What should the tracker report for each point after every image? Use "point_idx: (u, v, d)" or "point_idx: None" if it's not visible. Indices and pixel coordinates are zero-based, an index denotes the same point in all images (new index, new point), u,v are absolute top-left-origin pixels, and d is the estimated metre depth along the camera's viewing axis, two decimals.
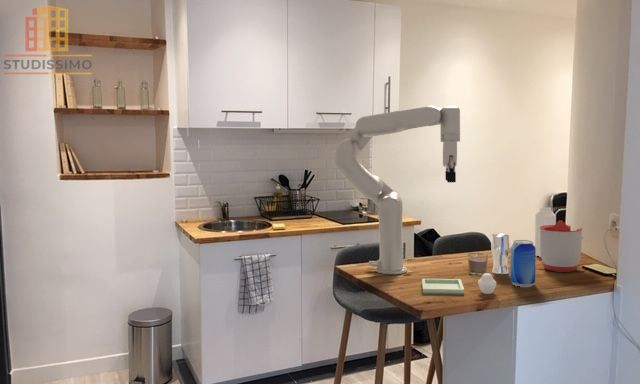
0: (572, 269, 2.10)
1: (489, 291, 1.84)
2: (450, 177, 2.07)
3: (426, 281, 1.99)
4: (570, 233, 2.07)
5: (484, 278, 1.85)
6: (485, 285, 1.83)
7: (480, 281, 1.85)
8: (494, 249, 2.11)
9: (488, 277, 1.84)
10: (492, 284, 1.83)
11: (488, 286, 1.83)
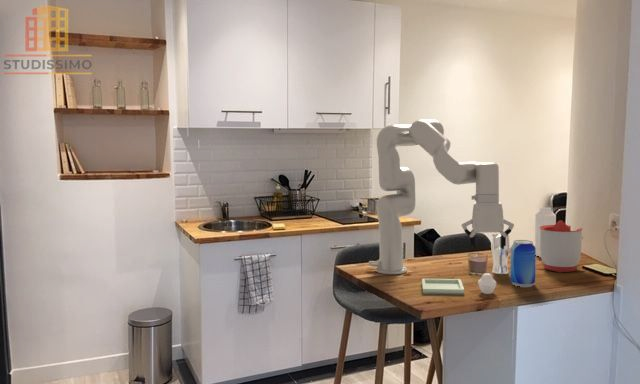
0: (572, 269, 2.10)
1: (489, 291, 1.84)
2: None
3: (426, 281, 1.99)
4: (570, 233, 2.07)
5: (484, 278, 1.85)
6: (485, 285, 1.83)
7: (480, 281, 1.85)
8: (494, 249, 2.11)
9: (488, 277, 1.84)
10: (492, 284, 1.83)
11: (488, 286, 1.83)
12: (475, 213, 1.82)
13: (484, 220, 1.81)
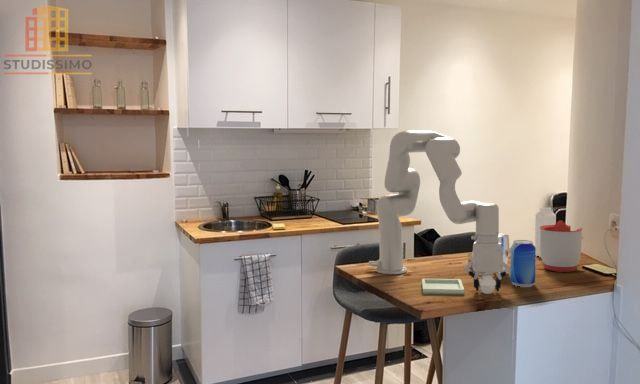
0: (572, 269, 2.10)
1: (489, 291, 1.84)
2: None
3: (426, 281, 1.99)
4: (570, 233, 2.07)
5: (484, 278, 1.85)
6: (485, 285, 1.83)
7: (480, 281, 1.85)
8: None
9: (488, 277, 1.84)
10: (492, 284, 1.83)
11: (488, 286, 1.83)
12: (475, 253, 1.83)
13: (484, 260, 1.83)
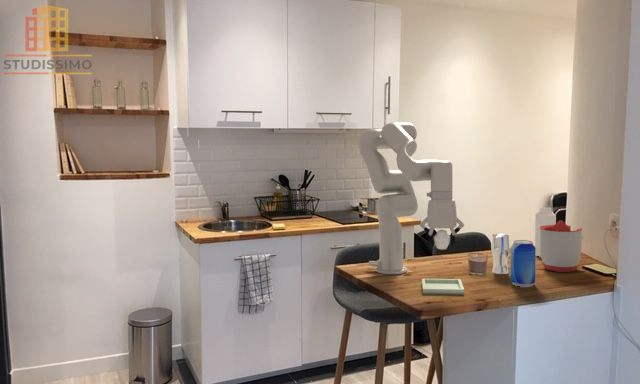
0: (572, 269, 2.10)
1: (443, 246, 1.89)
2: None
3: (426, 281, 1.99)
4: (570, 233, 2.07)
5: (438, 234, 1.90)
6: (439, 240, 1.88)
7: (435, 237, 1.90)
8: (494, 249, 2.11)
9: (442, 233, 1.89)
10: (446, 239, 1.88)
11: (442, 241, 1.88)
12: (429, 209, 1.88)
13: (438, 216, 1.88)
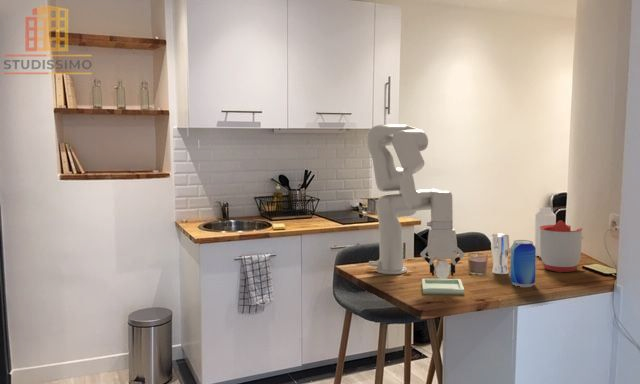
0: (572, 269, 2.10)
1: (444, 276, 1.90)
2: None
3: (426, 281, 1.99)
4: (570, 233, 2.07)
5: (439, 263, 1.90)
6: (439, 270, 1.89)
7: (435, 266, 1.91)
8: (494, 249, 2.11)
9: (443, 262, 1.90)
10: (446, 269, 1.89)
11: (442, 271, 1.89)
12: (430, 239, 1.89)
13: (438, 246, 1.89)
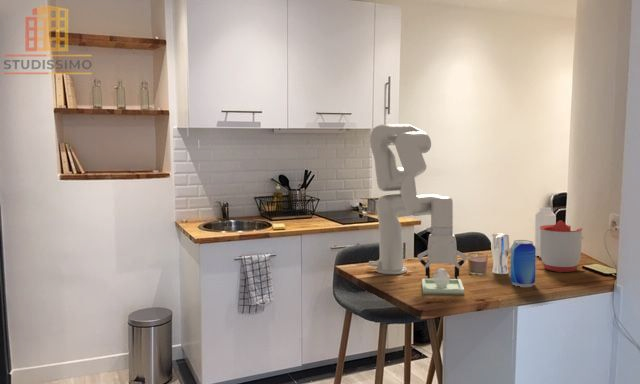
0: (572, 269, 2.10)
1: (443, 285, 1.91)
2: None
3: (426, 281, 1.99)
4: (570, 233, 2.07)
5: (438, 273, 1.91)
6: (438, 279, 1.90)
7: (434, 276, 1.92)
8: (494, 249, 2.11)
9: (442, 272, 1.91)
10: (446, 278, 1.90)
11: (442, 280, 1.90)
12: (430, 245, 1.90)
13: (438, 252, 1.89)
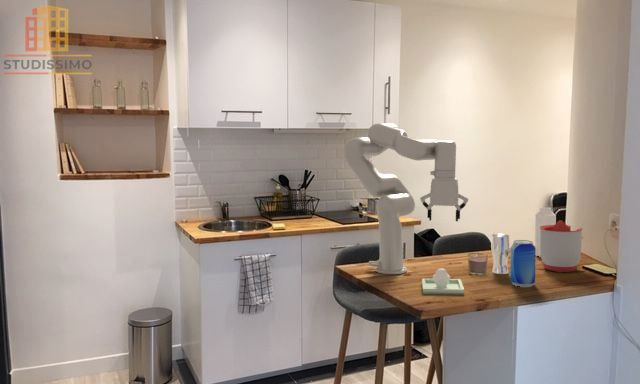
0: (572, 269, 2.10)
1: (443, 285, 1.91)
2: None
3: (426, 281, 1.99)
4: (570, 233, 2.07)
5: (438, 273, 1.91)
6: (438, 279, 1.90)
7: (434, 276, 1.92)
8: (494, 249, 2.11)
9: (442, 272, 1.91)
10: (446, 278, 1.90)
11: (442, 280, 1.90)
12: (432, 187, 1.96)
13: (440, 194, 1.95)
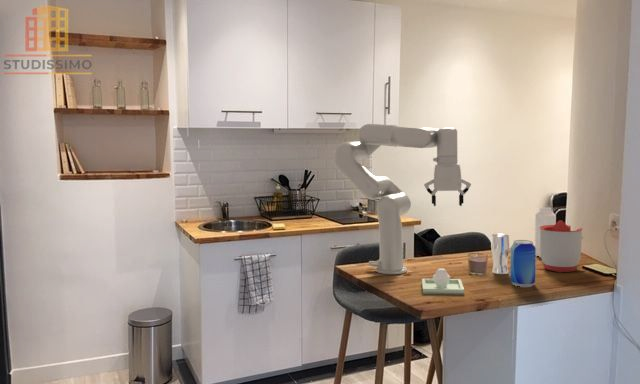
0: (572, 269, 2.10)
1: (443, 285, 1.91)
2: None
3: (426, 281, 1.99)
4: (570, 233, 2.07)
5: (438, 273, 1.91)
6: (438, 279, 1.90)
7: (434, 276, 1.92)
8: (494, 249, 2.11)
9: (442, 272, 1.91)
10: (446, 278, 1.90)
11: (442, 280, 1.90)
12: (436, 173, 2.01)
13: (444, 179, 2.01)
